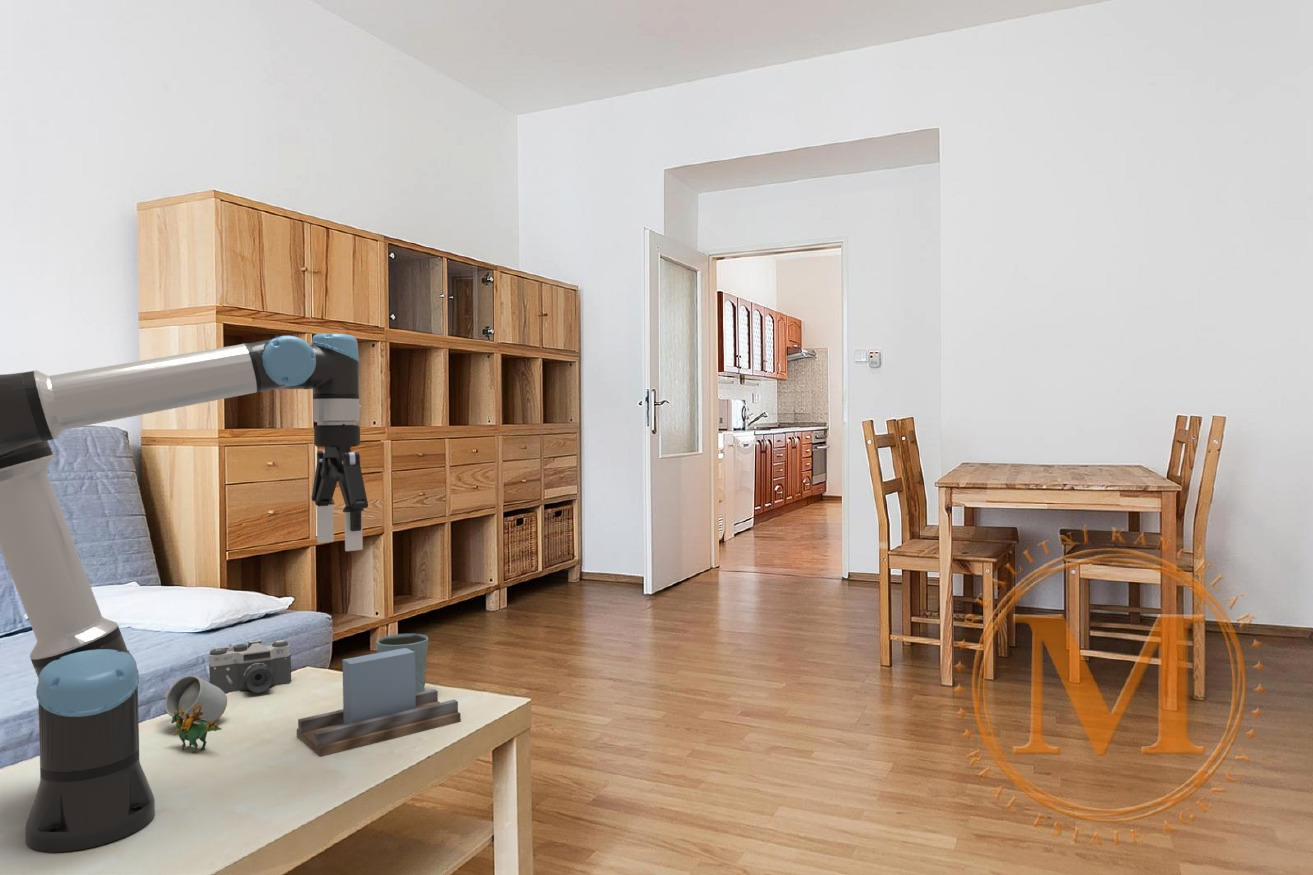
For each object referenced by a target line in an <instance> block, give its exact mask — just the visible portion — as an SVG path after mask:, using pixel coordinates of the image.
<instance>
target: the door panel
mask: <svg viewBox="0 0 1313 875" xmlns="http://www.w3.org/2000/svg"><path fill="white" fill-rule="evenodd" d="M342 696H343V697H342V705H343V706H342V708H343V717H344V725H347V724H351V723H355V722H360V721H364V720H368V719H373V718H377V717H381V716H385V715H390V714H394V713H398V712H403V711H407V710H411V709H415V708H416V690H415V652H414V651H411V650H409V649H407V648H403V649H397V650H392V651H386V652H381V653H377V652H376V653H371V654H366V655H359V656H355V657H349V658H344V659H342Z"/></svg>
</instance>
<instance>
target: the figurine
mask: <svg viewBox="0 0 1313 875" xmlns="http://www.w3.org/2000/svg"><path fill="white" fill-rule="evenodd" d="M198 707H199V712H195V710H196V708H198ZM201 709H202V706H201V705H197V706H195V707H194V709H193V714H192V715H191V716H190V717H189V713H187V714H185V717H186V719H185V720H183V718H182V717H181V716H183V714H184V711H183V709H181V710H180V711H179V712H178V711H175V712H174V716H173V717H172V716H171V718H172V720H171V721H170V722H171V724H175V723H176V724H175V725H176V727H175V731H176V732H174V733H172V734H171V735H173V736H176V735H178V738H179V739H180V741H181V742H182V744H181V749H182V750H181V751H184V750H185V749H186V747H187V746H186V745H187V744H186V742H185V741H188V743H189V744H188V748H191V747H192V746H193V747H194V750H193V752H194V753H193V754H198V753H197V752H198V750H200V751H206V745H207V740H206V738H207V736H208V732H217V731H221V730H222V729H223V728H222V727H219V725H218V724H217V723H213V722H211V721H209V720H205V719H201V718H199V716H200V715H203V713H204V712H200V711H201ZM176 712H177V713H176ZM175 713H176V714H175ZM179 714H181V716H179ZM196 714H197V715H196ZM202 721H203V722H202ZM207 721H209V722H208V724H206V723H204V722H207ZM213 724H214V725H213ZM197 740H199V741H201V742H202V746H201V748H198V747H199V745H198V743H197ZM195 752H196V753H195Z"/></svg>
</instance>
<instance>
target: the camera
mask: <svg viewBox="0 0 1313 875" xmlns="http://www.w3.org/2000/svg"><path fill="white" fill-rule="evenodd" d="M247 643H248V644H246V643H243V644H242V643H241V644H237V645H234V646H233V645H232V643H231V644H230V643H229V644H228V647H224V648H221V647H218V648H214V649H211V650H209V664H208V667H209V668H208V669H209V683H211V684H213V685H215V686H217V687H218V688H220V689H221V690H222V691H223V692H224V693H225V694H227V693H233V692H242V691H243V692H244V691H250V692H252V693H255V694H260V693H264V692H266V691H267V690H269V689H270V688H271V687H275V686H282V685H288V684H291V683H292V658H291V657H292V655H291V653H290V645H289V642H288V641H287V640H283V639H280V640H276V641H274V642H273V643H272V644H266V645H263V644H262V640H261V639H260V638H257V640H253V641H252V640H248V642H247Z"/></svg>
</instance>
